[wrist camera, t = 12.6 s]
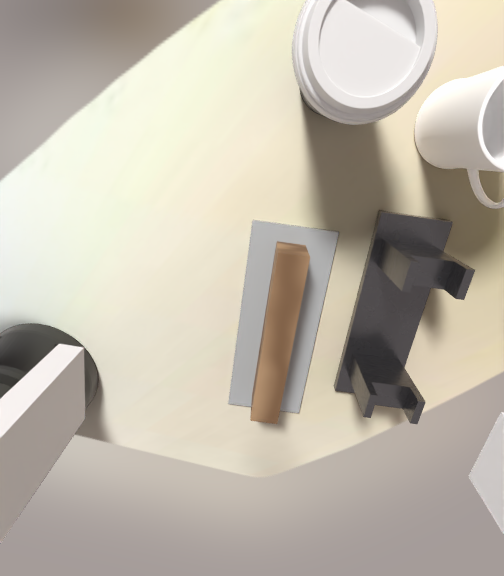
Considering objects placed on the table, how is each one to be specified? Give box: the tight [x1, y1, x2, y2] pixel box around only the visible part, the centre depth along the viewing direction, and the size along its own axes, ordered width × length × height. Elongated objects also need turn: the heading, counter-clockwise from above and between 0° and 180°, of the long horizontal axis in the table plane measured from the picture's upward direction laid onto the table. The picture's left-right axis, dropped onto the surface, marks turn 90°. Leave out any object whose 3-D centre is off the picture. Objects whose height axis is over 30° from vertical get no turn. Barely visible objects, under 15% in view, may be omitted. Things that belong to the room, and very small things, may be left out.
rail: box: [250, 241, 310, 424], centre depth 44 cm, size 3×22×5 cm, turn 173°
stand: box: [334, 211, 475, 424], centre depth 41 cm, size 8×24×9 cm, turn 172°
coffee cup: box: [292, 0, 438, 125], centre depth 30 cm, size 10×10×15 cm
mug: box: [414, 66, 504, 209], centre depth 33 cm, size 12×8×12 cm
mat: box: [228, 220, 339, 413], centre depth 46 cm, size 10×26×1 cm, turn 172°
